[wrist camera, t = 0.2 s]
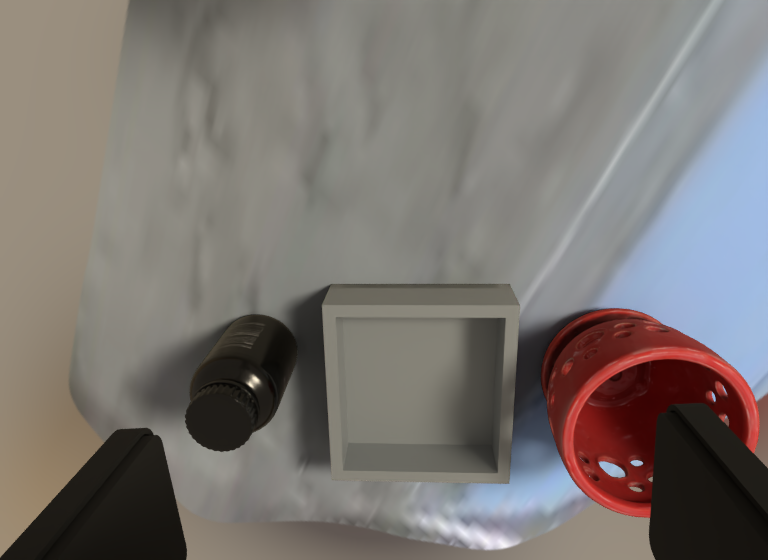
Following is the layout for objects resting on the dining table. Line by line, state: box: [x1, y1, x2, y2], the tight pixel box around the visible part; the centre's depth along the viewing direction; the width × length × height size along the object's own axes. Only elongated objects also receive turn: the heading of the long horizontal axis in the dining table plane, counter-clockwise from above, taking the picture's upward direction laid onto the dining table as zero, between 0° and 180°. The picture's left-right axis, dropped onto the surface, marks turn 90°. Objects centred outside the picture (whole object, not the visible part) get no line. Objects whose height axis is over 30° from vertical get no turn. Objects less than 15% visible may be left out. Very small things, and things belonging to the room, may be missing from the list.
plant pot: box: [541, 308, 759, 518], centre depth 43 cm, size 13×13×12 cm
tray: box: [322, 284, 520, 484], centre depth 48 cm, size 16×15×5 cm
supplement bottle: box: [185, 315, 298, 452], centre depth 45 cm, size 7×7×12 cm
